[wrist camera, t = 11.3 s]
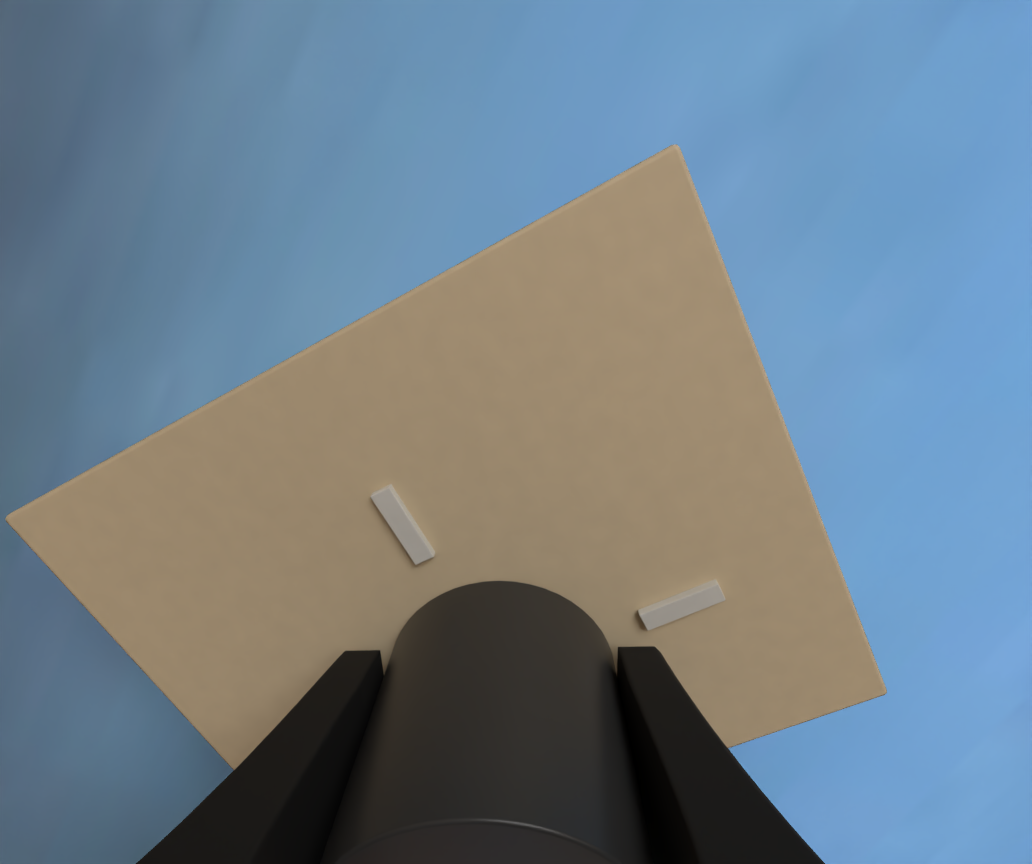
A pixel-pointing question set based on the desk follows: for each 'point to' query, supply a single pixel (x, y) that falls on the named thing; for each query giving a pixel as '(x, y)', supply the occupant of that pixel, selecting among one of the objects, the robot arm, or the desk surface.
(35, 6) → the desk surface
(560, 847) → the timer dial
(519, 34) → the desk surface
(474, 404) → the block
